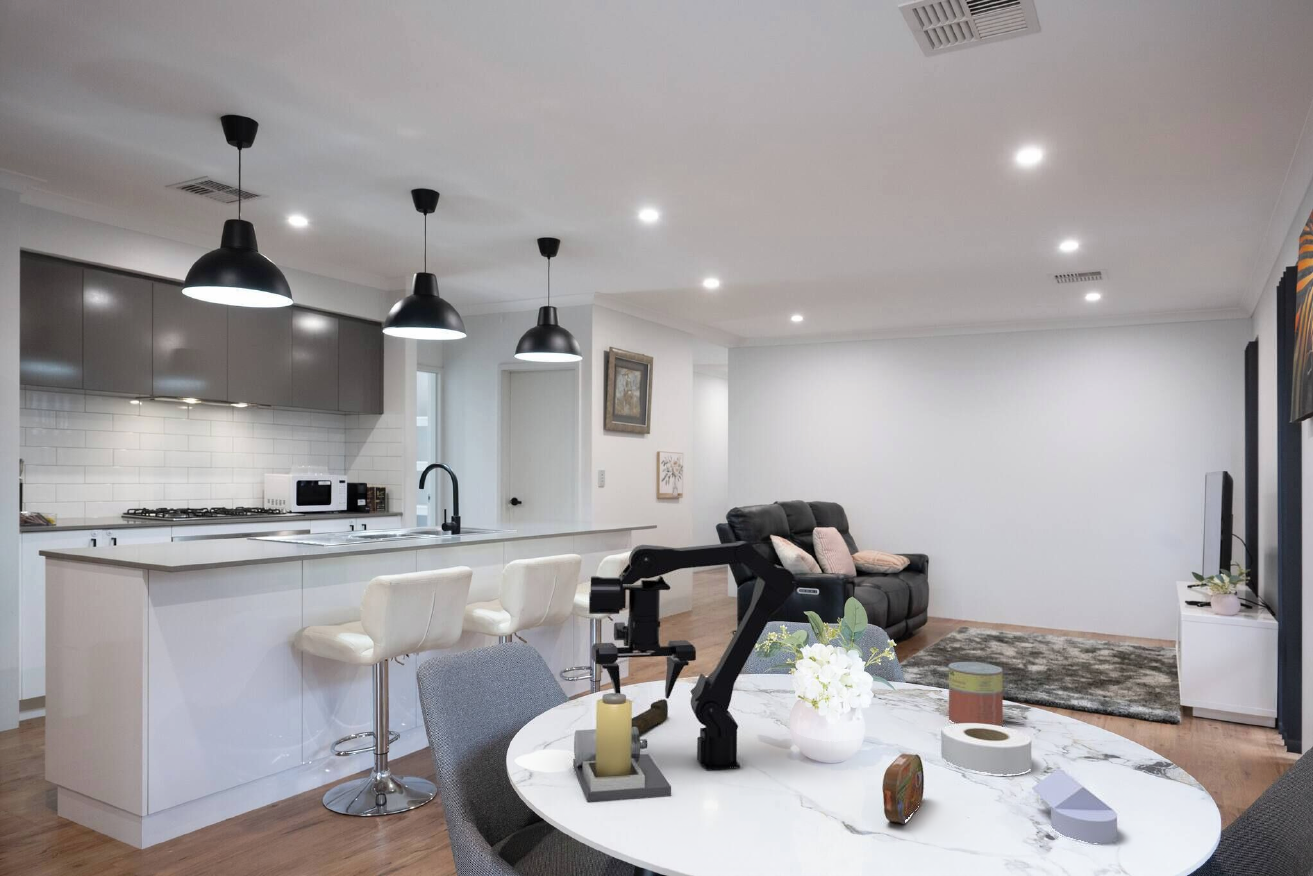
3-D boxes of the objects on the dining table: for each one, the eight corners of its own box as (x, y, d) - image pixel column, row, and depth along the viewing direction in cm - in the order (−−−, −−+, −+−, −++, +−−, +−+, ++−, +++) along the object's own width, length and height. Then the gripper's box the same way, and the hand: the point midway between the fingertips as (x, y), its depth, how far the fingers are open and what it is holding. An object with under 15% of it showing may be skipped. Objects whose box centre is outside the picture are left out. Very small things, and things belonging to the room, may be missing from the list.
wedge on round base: (1031, 809, 138) (1066, 843, 125) (1030, 767, 138) (1066, 797, 125) (1087, 810, 138) (1129, 845, 125) (1087, 768, 138) (1128, 798, 125)
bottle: (633, 775, 147) (634, 692, 148) (627, 786, 141) (628, 700, 142) (599, 773, 148) (600, 691, 149) (592, 784, 142) (593, 699, 143)
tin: (899, 832, 128) (899, 775, 129) (879, 827, 130) (879, 771, 130) (925, 800, 141) (925, 749, 141) (906, 796, 143) (906, 745, 143)
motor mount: (648, 762, 158) (648, 721, 158) (671, 795, 142) (671, 750, 142) (573, 767, 155) (573, 725, 155) (587, 802, 138) (588, 755, 139)
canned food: (957, 712, 195) (956, 659, 196) (1008, 721, 188) (1008, 666, 189) (941, 723, 186) (941, 668, 186) (995, 733, 179) (995, 675, 180)
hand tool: (633, 743, 170) (634, 719, 170) (616, 740, 172) (617, 716, 172) (678, 720, 187) (678, 699, 187) (662, 717, 189) (662, 696, 189)
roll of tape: (937, 747, 170) (937, 719, 170) (1021, 753, 167) (1021, 724, 167) (947, 773, 155) (946, 742, 155) (1040, 781, 151) (1039, 749, 152)
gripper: (681, 606, 168) (680, 686, 167) (587, 608, 163) (585, 690, 163) (697, 615, 157) (696, 701, 156) (597, 617, 152) (595, 706, 152)
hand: (642, 699), depth 157 cm, fingers open, 9 cm apart
